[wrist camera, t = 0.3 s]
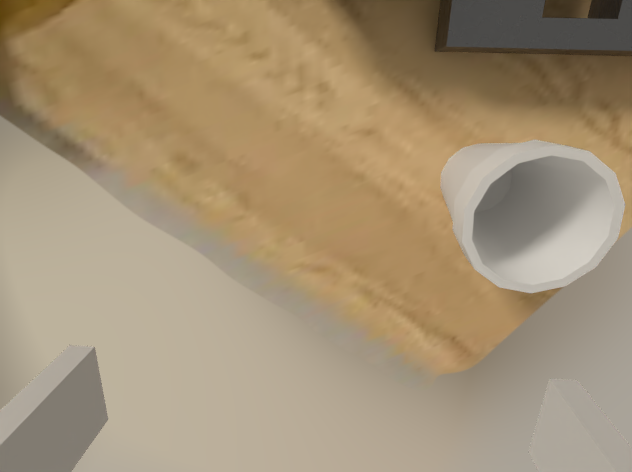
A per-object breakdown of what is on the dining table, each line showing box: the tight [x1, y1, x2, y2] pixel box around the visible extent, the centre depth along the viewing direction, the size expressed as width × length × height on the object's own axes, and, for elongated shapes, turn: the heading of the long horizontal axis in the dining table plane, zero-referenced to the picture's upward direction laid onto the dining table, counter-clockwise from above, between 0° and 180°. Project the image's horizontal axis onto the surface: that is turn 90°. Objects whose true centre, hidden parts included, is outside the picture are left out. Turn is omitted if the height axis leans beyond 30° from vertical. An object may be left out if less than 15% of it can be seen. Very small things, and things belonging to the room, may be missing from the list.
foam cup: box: [440, 140, 625, 293], centre depth 31 cm, size 10×9×13 cm
